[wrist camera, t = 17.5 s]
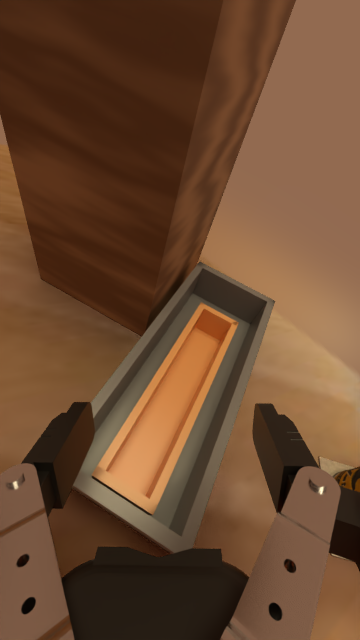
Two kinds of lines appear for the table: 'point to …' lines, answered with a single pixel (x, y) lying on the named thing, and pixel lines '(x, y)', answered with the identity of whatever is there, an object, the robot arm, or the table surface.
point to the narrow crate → (166, 412)
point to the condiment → (342, 475)
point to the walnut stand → (129, 134)
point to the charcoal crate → (213, 418)
